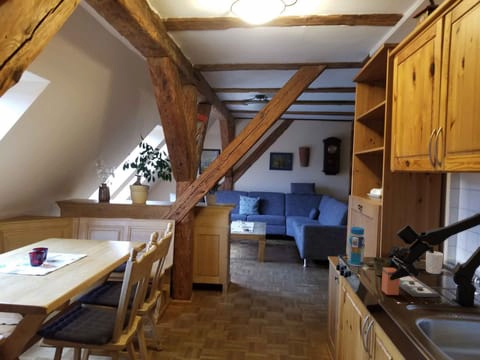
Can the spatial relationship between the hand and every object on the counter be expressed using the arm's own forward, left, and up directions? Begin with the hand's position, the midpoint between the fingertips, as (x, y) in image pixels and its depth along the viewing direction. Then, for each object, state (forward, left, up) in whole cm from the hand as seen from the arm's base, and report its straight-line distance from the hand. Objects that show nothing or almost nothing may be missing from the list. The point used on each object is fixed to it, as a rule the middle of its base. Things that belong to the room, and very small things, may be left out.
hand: (387, 277), depth 143 cm
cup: (+23, -7, -8) cm, 25 cm away
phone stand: (+34, -26, -8) cm, 44 cm away
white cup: (+30, -38, -8) cm, 49 cm away
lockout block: (0, -1, -7) cm, 7 cm away
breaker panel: (+8, -16, -7) cm, 19 cm away
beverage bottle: (+39, -1, -8) cm, 40 cm away
